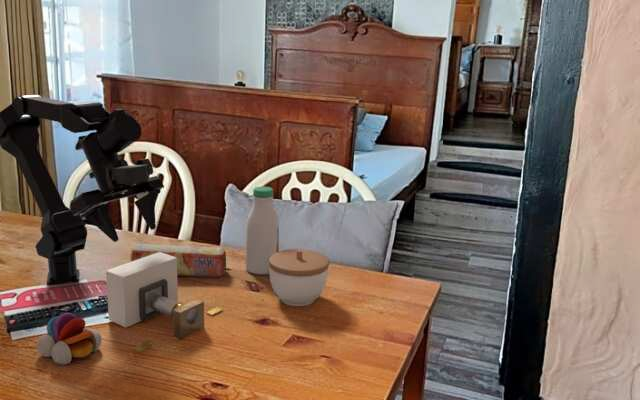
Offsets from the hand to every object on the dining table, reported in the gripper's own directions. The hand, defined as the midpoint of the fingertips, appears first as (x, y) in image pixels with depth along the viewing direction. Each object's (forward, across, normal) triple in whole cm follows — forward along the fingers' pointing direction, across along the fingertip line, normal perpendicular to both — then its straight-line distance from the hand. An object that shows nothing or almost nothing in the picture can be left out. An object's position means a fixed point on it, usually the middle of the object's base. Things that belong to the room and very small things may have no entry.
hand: (135, 235), depth 117 cm
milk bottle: (+17, +32, +2) cm, 36 cm away
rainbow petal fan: (+16, -19, +5) cm, 25 cm away
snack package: (+10, +18, +14) cm, 25 cm away
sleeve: (+15, -1, +6) cm, 16 cm away
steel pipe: (+17, -1, +2) cm, 17 cm away
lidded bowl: (+26, +23, -12) cm, 36 cm away
